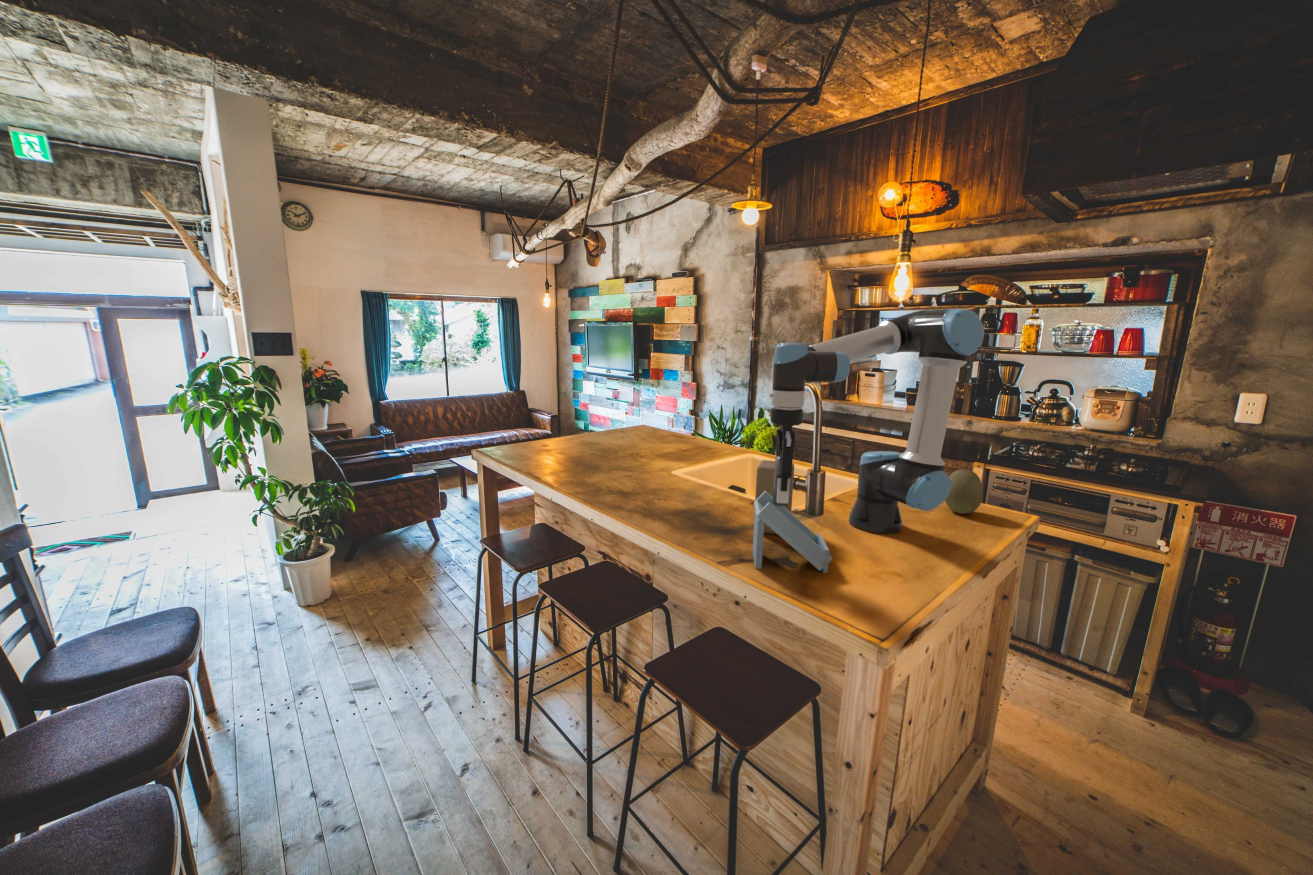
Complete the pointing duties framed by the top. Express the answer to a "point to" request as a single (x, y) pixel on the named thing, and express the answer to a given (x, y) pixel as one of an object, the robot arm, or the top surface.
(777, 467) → the peg
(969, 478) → the fruit
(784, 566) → the top surface
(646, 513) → the top surface
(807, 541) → the chute
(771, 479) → the wooden block
